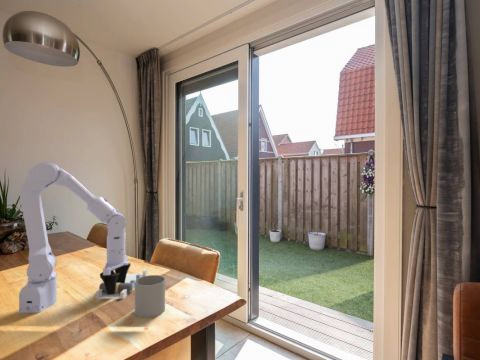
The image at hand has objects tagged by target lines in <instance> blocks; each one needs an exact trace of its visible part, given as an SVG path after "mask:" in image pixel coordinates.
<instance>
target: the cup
mask: <svg viewBox="0 0 480 360" xmlns="http://www.w3.org/2000/svg"><path fill="white" fill-rule="evenodd" d="M165 311H166V277H164V276H162V275H158V274H157V275H156V274H154V275H152V274H151V275H146V276H144V277H140V278H138V279H137V280H136V281H135V288H134V315H135V316H136V317H138V318H141V319H150V318H155V317H158V316H161V315H163V313H165Z"/></svg>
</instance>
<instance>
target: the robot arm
mask: <svg viewBox="0 0 480 360" xmlns="http://www.w3.org/2000/svg"><path fill="white" fill-rule="evenodd" d="M54 183H55V185H56V186H62V187H65V188H67V189H68V190H70V191H71V192H72V193H73V194H74V195H76V196H77V197H78V198H80V199H81V200H82V201H83V202H84V203H86V204H87V205H86V207H87V208H86V209H87V211H89V213H91V214H92V215H93V216H95V218H97V219H98V220H99V221H100V222H102V223H105V224H106V228H107V236H106V263H105V266H104V268H103V269H102V272H100V273H99V278H101V280H102V283H104V284H105V287H106V291H107V294H108V295H114V294H115V290H116V283H125V279H126V275H127V272H128V271H129V269H130V267H131V262H129V261H128V258H129V257H128V256H127V255H126V227H127V224H128V223H127V220H126V218H125V216H124V215H123V214H122V212H120V210H119V209H118V208H115V207H114V206H112V205H111V203H109V199H107V197H104V198H103V197H102V196H95V195H94V194H93V193H92V192H90V191H89V190H88V189H87V188H86V187H85V186H84V185H83V184H82V183H81V182H80V181H79V180H78V179H77V178H76V177H74V176H73V175H72V174H71V173H69V172H68V171H66V170H65V169H63V168H61V167H60V166H59V165H57V164H56V163H54V162H53V163H52V162H49V161H41V162H39V163H37V164H35V165H34V166H32V168H30V169H29V171H28V173H27V175H26V177H25V179H24V180H23V183H22V185H20V188H19V197H20V204H21V209H22V214H23V221H24V225H25V227H24V228H25V231H26V237H27V244H28V249H29V250H28V251H29V252H28V266H27V269H26V275H27V277H28V278H27V282H26V284H25V285H24V286H23V287H22V288H21V289H20V291H19V293H18V305H19V306H18V312H16V314H15V315H18V314H19V313H21V314H23V313H24V314H27V313H29V314H40V313H42V312H43V311H45V310H46V309H48V308H50V307H51V306H52V307H53V306H54V305H56V303H57V300H58V299H57V294H58V293H57V292H58V291H57V287H58V286H57V280H58V279H57V278H58V277H57V273H56V272H55V271H54V269H55V267H56V265H57V262H58V261H57V258H56V256H55V255H54V254H53V252H52V247H51V246H50V243H49V238H48V233H47V226H46V220H45V214H44V209H43V204H42V203H43V202H42V196H41V194H42V193H43V192H44V191H45V190H46V189H48V187H49V186H50V185H52V184H54ZM128 273H129V272H128Z"/></svg>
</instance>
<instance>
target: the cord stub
mask: <svg viewBox="0 0 480 360" xmlns="http://www.w3.org/2000/svg"><path fill="white" fill-rule="evenodd" d="M99 289H102V293H103V292H104V293H107V291H106V287H105V284H104V282H101V283H100V285H99V287H98V290H99ZM124 289H127V293H129V294H131V293H132V291H133V290H134V289H133V284H132V283H116V290H115V293H121V292H122V291H123V290H124ZM132 289H133V290H132Z"/></svg>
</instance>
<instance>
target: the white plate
mask: <svg viewBox="0 0 480 360" xmlns="http://www.w3.org/2000/svg"><path fill="white" fill-rule="evenodd" d="M148 272H149V268H144V269H143V270H142V273H129V272H127V275H126V279H125V283H132V284H133V289H132V291H133V290H135V281H136V280H137V279H138V278H140V277H144V276H148ZM129 294H130V293H127V289H124V290H123V291H122V292H121V293H115V294H114V295H108V294H107V293H104V292H102V289H99V288H98V290H97V291H96V292H95V293H94V299H95V300H124V299H126V297H127V296H128V295H129Z"/></svg>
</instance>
